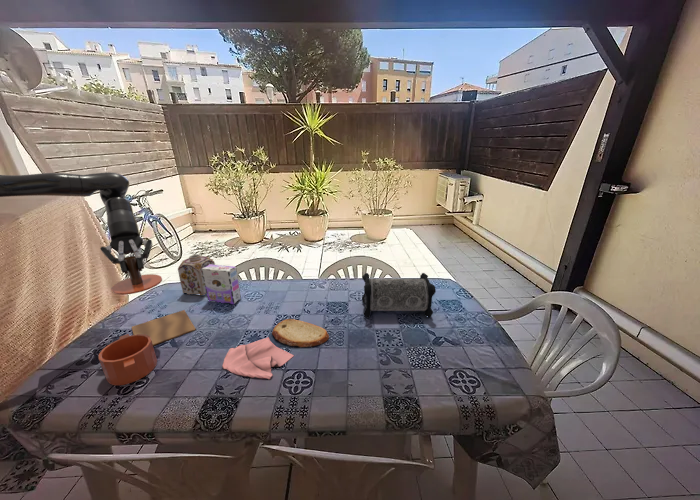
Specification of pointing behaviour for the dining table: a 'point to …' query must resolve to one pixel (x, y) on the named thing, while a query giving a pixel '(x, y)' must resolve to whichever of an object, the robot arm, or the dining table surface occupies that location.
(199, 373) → the dining table surface
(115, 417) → the dining table surface
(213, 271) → the candy box
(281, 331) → the slice of bread
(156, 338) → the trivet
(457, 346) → the dining table surface
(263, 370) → the cloth
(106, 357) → the pot
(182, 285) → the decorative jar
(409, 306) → the speaker
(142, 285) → the lid
